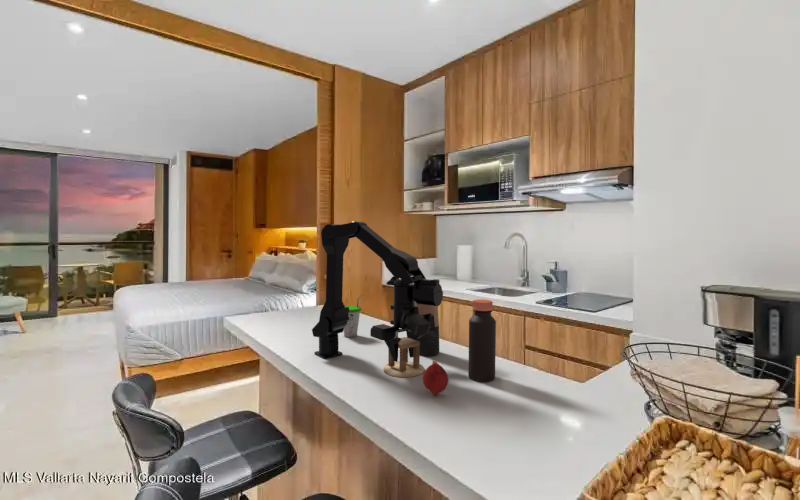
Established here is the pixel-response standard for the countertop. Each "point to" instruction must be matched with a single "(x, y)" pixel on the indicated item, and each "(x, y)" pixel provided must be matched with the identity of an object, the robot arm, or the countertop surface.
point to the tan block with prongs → (406, 353)
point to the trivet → (409, 371)
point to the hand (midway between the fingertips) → (403, 359)
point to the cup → (352, 321)
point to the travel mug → (429, 332)
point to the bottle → (482, 342)
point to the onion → (435, 378)
